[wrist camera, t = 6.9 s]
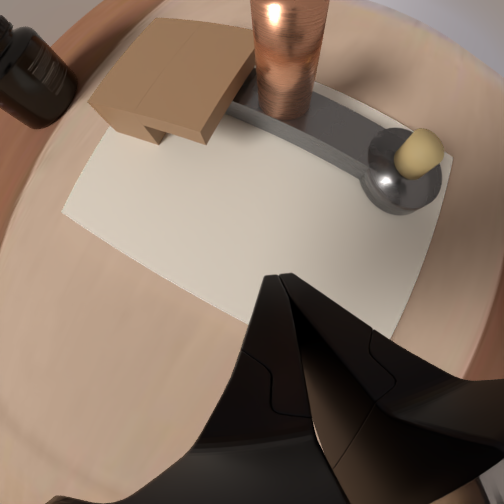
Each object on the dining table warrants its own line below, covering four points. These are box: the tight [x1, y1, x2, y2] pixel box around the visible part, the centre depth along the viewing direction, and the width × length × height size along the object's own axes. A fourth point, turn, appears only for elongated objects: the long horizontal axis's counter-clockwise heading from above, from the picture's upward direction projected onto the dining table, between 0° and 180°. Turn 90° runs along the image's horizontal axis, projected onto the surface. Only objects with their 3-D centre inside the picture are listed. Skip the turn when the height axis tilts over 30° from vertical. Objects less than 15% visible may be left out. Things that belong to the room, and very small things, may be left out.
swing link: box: [225, 0, 442, 216], centre depth 12 cm, size 16×5×10 cm, turn 60°
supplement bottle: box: [0, 15, 77, 129], centre depth 15 cm, size 7×7×12 cm
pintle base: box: [62, 18, 453, 339], centre depth 15 cm, size 24×16×6 cm
